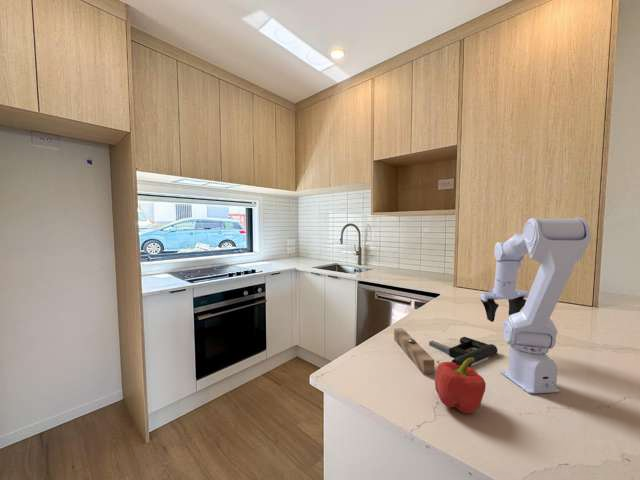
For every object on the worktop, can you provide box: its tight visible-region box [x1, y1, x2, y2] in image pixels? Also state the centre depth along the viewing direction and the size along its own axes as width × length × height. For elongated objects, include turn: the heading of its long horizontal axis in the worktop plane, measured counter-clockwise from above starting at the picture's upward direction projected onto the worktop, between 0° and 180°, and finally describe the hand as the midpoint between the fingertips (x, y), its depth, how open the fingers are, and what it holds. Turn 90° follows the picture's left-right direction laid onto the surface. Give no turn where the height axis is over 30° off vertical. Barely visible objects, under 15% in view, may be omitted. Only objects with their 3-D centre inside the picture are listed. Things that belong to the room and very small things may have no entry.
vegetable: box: [434, 358, 487, 414], centre depth 60 cm, size 11×10×10 cm
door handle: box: [428, 336, 499, 367], centre depth 85 cm, size 3×20×16 cm
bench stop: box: [393, 327, 435, 375], centre depth 83 cm, size 22×3×5 cm, turn 5°
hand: (501, 319), depth 86 cm, fingers open, 7 cm apart
